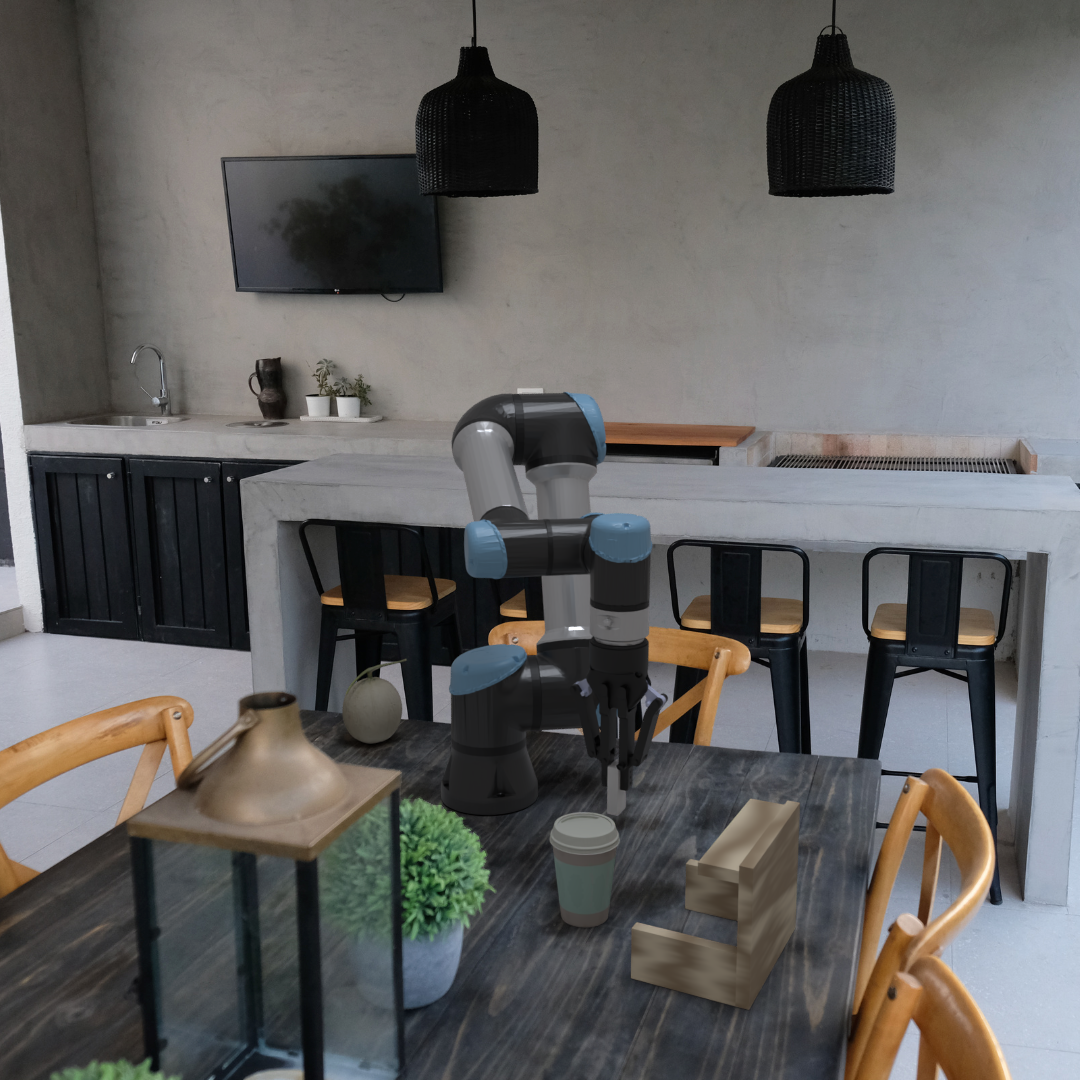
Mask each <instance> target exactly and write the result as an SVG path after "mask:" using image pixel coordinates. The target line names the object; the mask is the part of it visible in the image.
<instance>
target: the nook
mask: <svg viewBox="0 0 1080 1080" xmlns="http://www.w3.org/2000/svg"><path fill="white" fill-rule="evenodd" d="M800 809H801V802H797V801H793V800H786V802H785V803H784V804H781V803H777V802H772V801H766V800H761V799H756V798H755V799H754V798H750V799H749V800H748V801H747V802H746V803H745V805H743V807H742V808H741V809H740V811H739V812H738V813H736V816H735V817H734V818H732V819H731V821H730V823H729V824H728V825H727V827H726V828H725V829H724V830H723V831H722V832H721V834H720V835H719V836H718V837H717V838H716V839H715V841H714V842H713V843H712V844H711V846H710V847H709V849H707V851H705V853H704V854H703V856H702V857H701V858H700V859H699V860H696V859H692V858H690V859H688V860H687V862H686V863H685V895H684V897H685V898H684V900H685V901H684V905H685V906H684V909H685V910H688V911H689V910H690V911H694V912H697V913H701V914H706V915H711V916H714V917H719V918H723V919H727V920H731V921H734V922H735V921H737V933H736V936H737V937H736V938H737V939H736V945H731V944H729V943H723V942H718V941H715V940H710V939H707V938H703V937H699V936H695V935H690V934H686V933H683V932H678V931H674V930H670V929H666V928H662V927H658V926H654V925H649V924H645V923H640V922H635V923H634V924H633V926H632V927H631V929H630V931H631V936H630V938H631V940H630V941H631V942H630V944H631V947H630V951H631V953H630V979H633V980H636V981H639V982H644V983H647V984H651V985H654V986H658V987H663V988H666V989H670V990H674V991H677V992H680V993H684V994H687V995H691V996H695V997H699V998H703V999H707V1000H710V1001H713V1002H717V1003H720V1004H721V1003H722V1004H725V1005H729V1006H732V1007H737V1008H740V1009H742V1010H743V1009H745V1010H748V1011H749V1010H750V1009H751V1007H752V1005H753V1004H754V1003H755V1000H756V998H757V997H758V996H759V993H760V991H761V990H762V988H763V986H764V984H765V983H766V981H767V979H768V977H769V976H770V974H771V973H772V970H774V967H775V965H776V964H777V962H778V960H779V957H780V956H781V955H782V952H783V951H784V949H785V947H786V946H787V943H788V942H789V940H790V939H791V937H792V935H793V933H794V932H795V929H796V927H797V926H796V921H797V900H798V899H797V896H798V895H797V894H798V869H799V868H798V867H799V845H800V844H799V843H800V842H799V841H800V840H799V838H800V816H801V814H800V811H801V810H800Z"/></svg>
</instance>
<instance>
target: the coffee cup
mask: <svg viewBox="0 0 1080 1080" xmlns="http://www.w3.org/2000/svg"><path fill="white" fill-rule="evenodd" d="M553 823H554V824H553V827H552V829H551V830H550V836H549V843H550V844H551V845H552V849H553V850H552V851H553V852H552V853H553V859H554V860H553V861H554V867H555V876H556V877H555V878H556V886H557V893H558V902H559V909H560V917H561V919H562V920H563V922H564V923H566V924H568V925H570V926H573V927H577V928H594V927H597V926H600V925H602V924H604V923H605V922H606V921H607V920H608V918H609V913H610V912H609V911H610V904H611V897H612V896H611V895H612V888H613V880H614V872H615V866H616V865H615V864H616V855H617V849H618V848H617V847H618V846H619V845H620V842H621V840H620V834H619V831H618V830H617V827H616V824H615V821H614V820H613V819H612V818H610V817H609V816H607V815H605V814H601V813H597V812H588V811H581V812H579V811H578V812H572V813H567V814H564V815H562V816H560V817H557V819H556V820H555V821H554V822H553Z"/></svg>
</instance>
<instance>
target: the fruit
mask: <svg viewBox="0 0 1080 1080" xmlns="http://www.w3.org/2000/svg"><path fill="white" fill-rule="evenodd" d="M406 661H408V660H407V658H404V659H401V660H397V661H391V662H387V663H382V664H377V665H375V666H372V667H368V668H366V669H364V671H362V672H361V673H360V674H359V675H358V676H357V677H355V679H353V681H352V682H351V683H350V685H349V686H348V688H347V690H346V692H345V695H344V698H343V702H342V707H341V708H342V709H341V710H342V711H341V712H342V714H341V715H342V719H343V720H342V721H343V724H344V726H345V728H346V730H347V732H348V733H349V735H351V737H353V738H354V739H355V740H357V741H359V742H362V743H364V744H376V743H382V742H384V741H387V740H388V739H389V738H391V737H392V736H393V735H394V734H395V733H396V732H397V730H398V728H399V726H400V724H401V721H402V715H403V702H402V699H401V695H400V692H399V691H398V690H397V688H396V687H395V686H394V685H393V683H391V682H390V681H389V680H387V679H384V678H382V677H379V676H378V677H377V676H374V677H373V672H374V671H376V670H378V669H381V668H384V667H388V666H391V665H393V666H394V665H396V664H400V663H403V662H406ZM365 674H367V677H366V678H362V679H361V677H363V676H364V675H365ZM359 679H361V680H359Z"/></svg>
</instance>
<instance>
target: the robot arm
mask: <svg viewBox="0 0 1080 1080" xmlns="http://www.w3.org/2000/svg"><path fill="white" fill-rule="evenodd" d="M451 437H452V438H451V442H450V443H451V452H452V458H453V461H454V463H455V465H456V466H457V467H458V468H459V470H460V471H461V472H462V473H463V477H464V478H463V479H464V482H465V487H466V492H467V496H468V501H469V505H470V510H471V513H472V515H471V516H472V518H473V521H471V522H468V523H467V524H466V526H465V528H464V533H463V537H464V541H463V546H464V548H463V549H464V561H465V569H466V572H467V574H468V575H469V576H470V577H473V578H476V579H477V578H478V579H484V578H485V579H493V580H499V579H505V578H506V579H508V578H511V579H512V578H525V577H541V586H542V587H541V589H542V604H543V620H544V634H543V635H542V636H541V638H539V640H538V641H537V642H536V646H535V647H536V654H532V655H530V654H529V655H528V653H527V652H526V649H525V648H524V647H522V646H520V645H518V644H513V643H512V644H505V643H500V644H499V643H497V644H490V645H484V646H480V647H475V648H473V649H469V650H467V651H465V652H463V653H462V654H459V656H457V657H456V658H455V659H454V661H453V662H452V664H451V666H450V681H449V682H450V683H449V686H448V692H449V694H450V741H451V742H450V743H451V744H450V746H451V749H450V750H451V751H450V753H449V755H448V756H449V757H448V759H447V763H446V767H445V768H444V772H443V776H442V779H441V782H440V799H441V801H442V803H443V804H444V805H445V806H447V807H448V808H450V809H452V810H454V811H457V812H460V813H465V814H468V815H469V814H470V815H480V816H481V815H483V816H494V815H504V814H505V815H506V814H509V813H510V814H511V813H514V812H518V811H521V810H524V809H526V808H528V807H530V806H531V805H533V804H534V803H535V802H536V801H537V799H538V796H539V791H538V790H539V789H538V787H539V784H538V778H537V776H536V772H535V769H534V766H533V763H532V760H531V757H530V754H529V752H528V749H527V732H534V731H535V732H537V731H538V732H539V731H553V730H554V731H555V730H572V729H573V730H575V729H581V730H582V735H583V738H584V744H585V748H586V753H587V756H588V757H589V758H593V759H594V758H595V759H596V760H598V761H599V762H600V765H601V770H600V774H601V776H600V777H601V782H600V784H601V785H602V787H605V788H606V789H607V792H606V794H607V795H606V796H607V798H606V802H607V803H606V813H607V815H612V816H617V817H619V815H620V814H621V813H622V812H623V811H625V809H626V807H627V791H628V790H630V789H631V788H632V787H633V782H634V780H633V776H634V775H633V773H634V772H633V771H634V767H639V766H641V765H642V764H643V763H644V762H645V761H646V760H647V758H648V756H649V752H650V749H651V746H652V741H653V737H654V734H655V731H656V727H657V723H658V719H659V717H660V716H659V715H660V711H661V710H662V709H663V707H664V706H665V705H666V703H667V702H668V701H669V697H668V695H667V694H666V693H664V692H662V693H659V691H657V690H656V689H654V688H653V687H652V681H651V678H650V676H649V671H648V670H649V657H650V654H649V650H650V649H649V648H650V647H649V646H650V643H649V640H648V639H647V637H648V636H649V635H650V600H651V599H650V598H651V596H650V594H651V559H652V557H651V556H652V554H651V553H652V549H653V541H652V536H651V535H652V534H651V533H652V532H651V524H650V521H649V520H648V519H647V518H646V517H644V516H643V515H637V514H634V513H624V512H620V513H619V512H618V513H617V512H616V513H614V512H612V513H603V512H591V510H592V509H591V499H590V487H589V485H590V482H591V480H592V479H593V478H594V477H595V476H596V474H598V468H597V467H598V466H597V465H599V464H602V463H603V462H604V461H605V458H606V455H607V454H606V453H607V444H606V441H607V436H606V428H605V421H604V418H603V415H602V411H601V409H600V407H599V404H598V403H597V401H596V399H595V398H594V397H593V396H591V395H590V394H588V393H575V392H574V393H573V392H568V391H563V392H550V393H549V392H545V393H543V392H542V393H540V392H539V393H538V392H537V393H536V392H535V393H498V394H495V395H490V396H488V397H486V398H484V399H481V400H480V401H478V402H477V403H475V404H474V405H472V406H471V407H470V408H469V409H468V410H466V411H465V413H463V415H462V416H461V418H460V419H459V420H458V421H457V423H456V425H455V427H454V430H453V432H452V436H451ZM515 466H523V467H524V471H525V472H524V473H525V478H526V479H527V480H528V481H529V482H530V483H531V484H533V485H534V486H535V492H536V507H537V508H536V509H537V519H531V518H530V516H529V511H528V509H527V506H526V502H525V499H524V495H523V493H522V489H521V486H520V482H519V480H518V476H517V472H516V469H515ZM644 696H645V697H644ZM643 698H645V702H644V706H645V707H646V710H645V711H644V714H643V717H642V721H641V723H640V724H641V725H640V728H639V732H638V734H637V739H636V738H635V737H636V712H637V709H638V704H639V703H640V701H642V699H643ZM617 718H618V752H617ZM635 739H636V740H635ZM635 741H636V742H635ZM617 756H618V759H615V758H616V757H617Z"/></svg>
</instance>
